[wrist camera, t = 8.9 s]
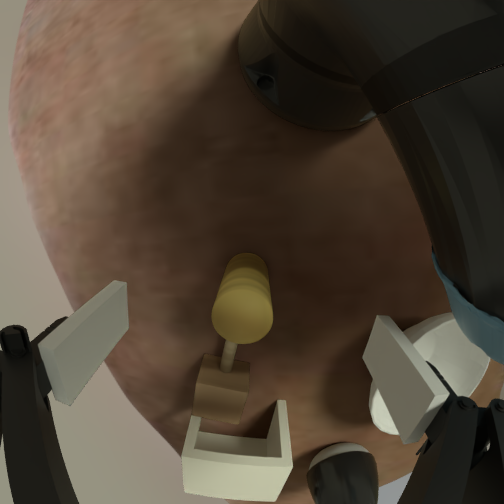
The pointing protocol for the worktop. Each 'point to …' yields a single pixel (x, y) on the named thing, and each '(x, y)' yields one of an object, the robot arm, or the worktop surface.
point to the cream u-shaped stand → (238, 461)
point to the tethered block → (234, 338)
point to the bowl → (438, 362)
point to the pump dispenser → (343, 475)
